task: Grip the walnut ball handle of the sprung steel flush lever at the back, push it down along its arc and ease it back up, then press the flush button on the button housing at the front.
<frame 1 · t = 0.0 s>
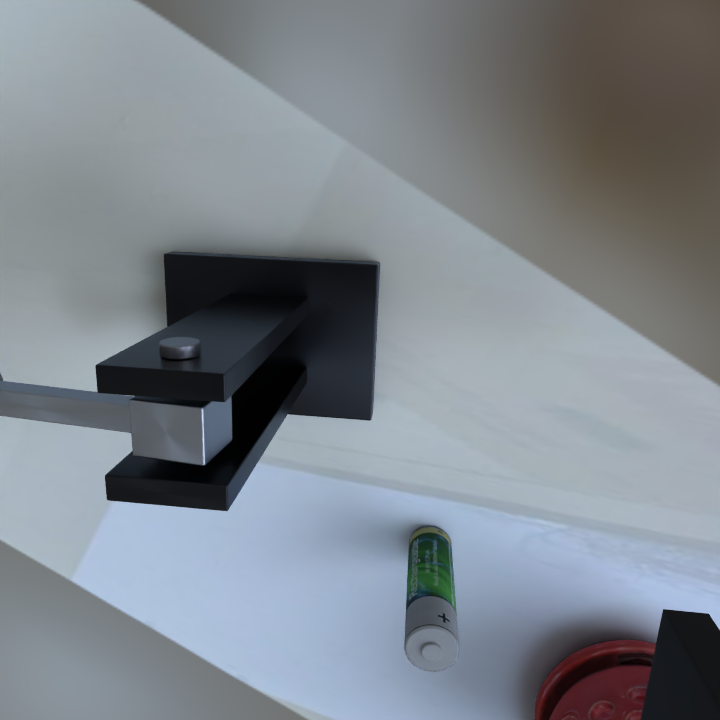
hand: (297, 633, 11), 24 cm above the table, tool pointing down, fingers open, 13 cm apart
lever bracket: (274, 333, 36), on the table
battery: (430, 542, 38), on the table
flower pot: (617, 693, 40), on the table
flush lever: (58, 405, 23), point 13 cm above the table, hinge at -6.4°
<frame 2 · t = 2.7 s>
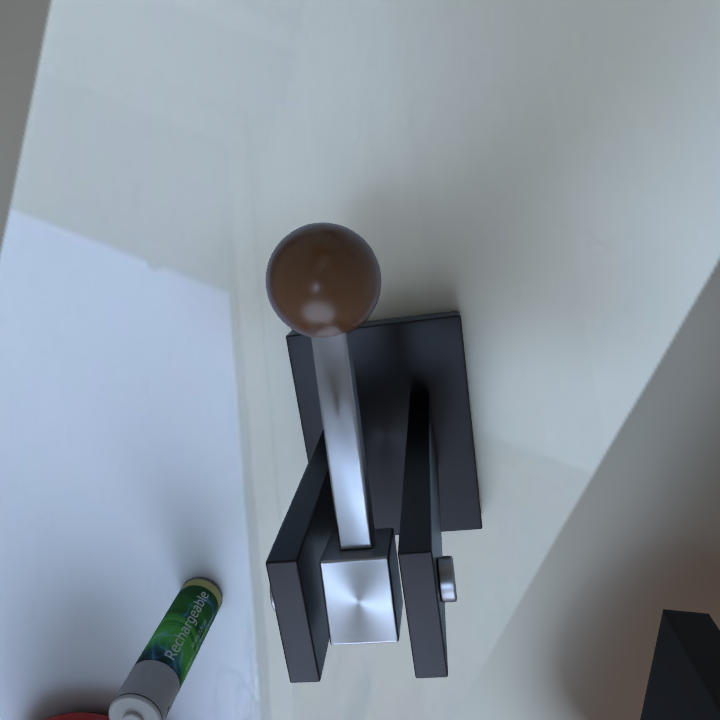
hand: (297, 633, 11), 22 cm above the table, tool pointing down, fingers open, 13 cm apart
lever bracket: (388, 426, 33), on the table
battery: (203, 593, 38), on the table
flush lever: (343, 430, 20), point 13 cm above the table, hinge at -8.7°
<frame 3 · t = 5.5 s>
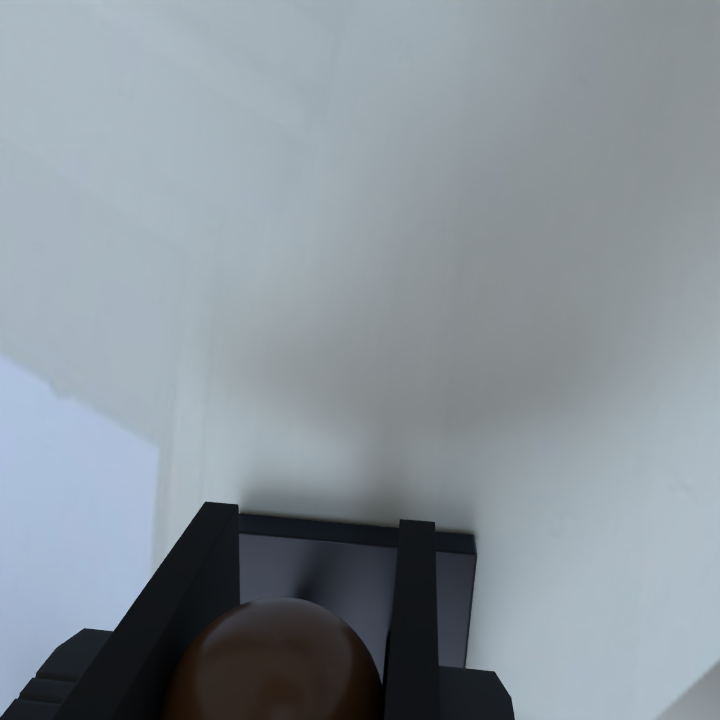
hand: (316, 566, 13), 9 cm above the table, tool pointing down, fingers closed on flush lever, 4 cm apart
lever bracket: (348, 655, 24), on the table
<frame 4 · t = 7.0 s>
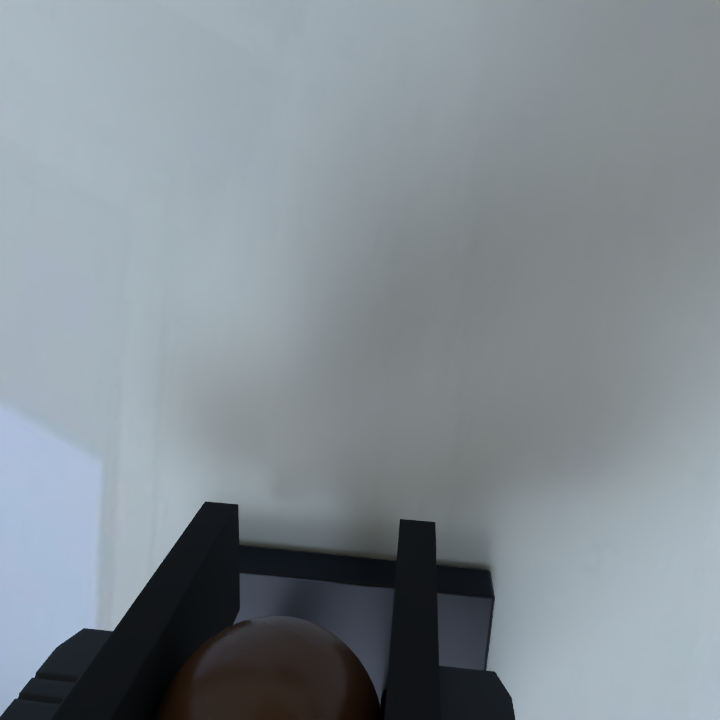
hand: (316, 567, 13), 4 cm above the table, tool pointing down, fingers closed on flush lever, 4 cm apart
lever bracket: (336, 710, 20), on the table
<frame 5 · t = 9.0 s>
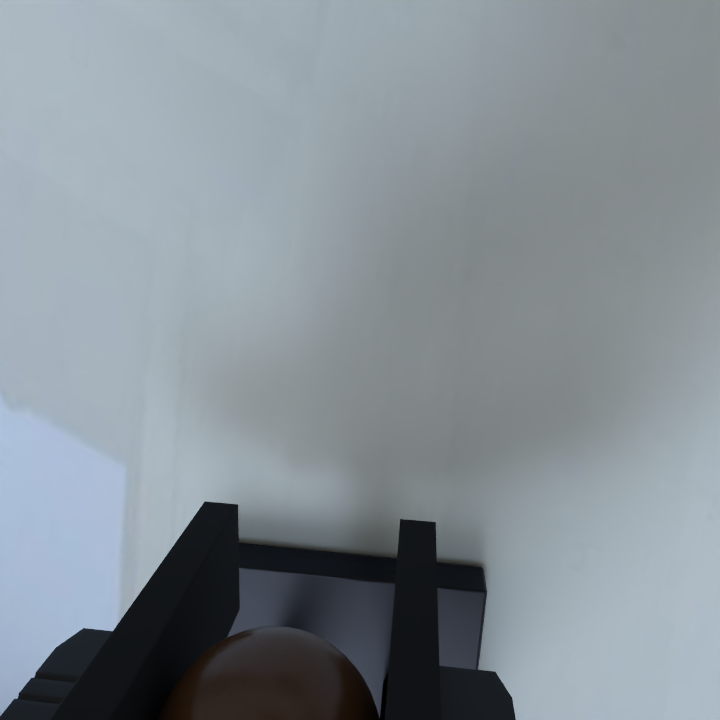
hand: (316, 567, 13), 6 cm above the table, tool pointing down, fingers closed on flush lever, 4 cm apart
lever bracket: (341, 697, 22), on the table
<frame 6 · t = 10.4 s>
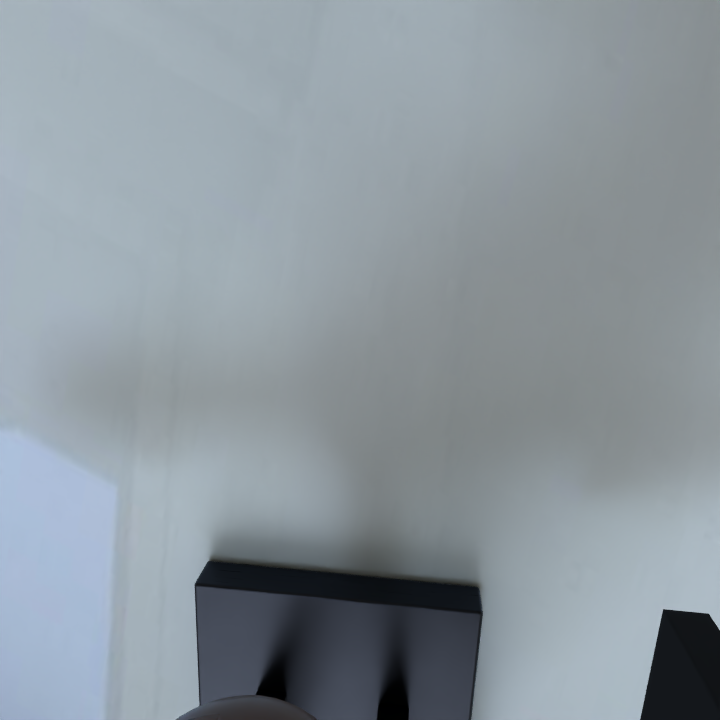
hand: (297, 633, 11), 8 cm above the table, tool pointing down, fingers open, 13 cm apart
lever bracket: (335, 718, 22), on the table
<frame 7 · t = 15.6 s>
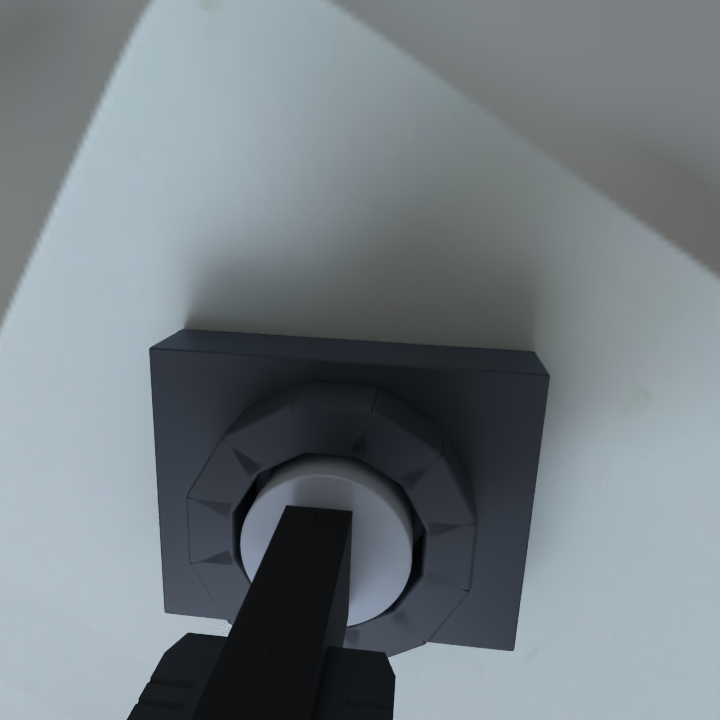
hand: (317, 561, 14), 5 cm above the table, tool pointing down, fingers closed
flush button: (330, 533, 15), point 4 cm above the table, slide at -0.8 cm, touching gripper
button housing: (348, 469, 18), on the table
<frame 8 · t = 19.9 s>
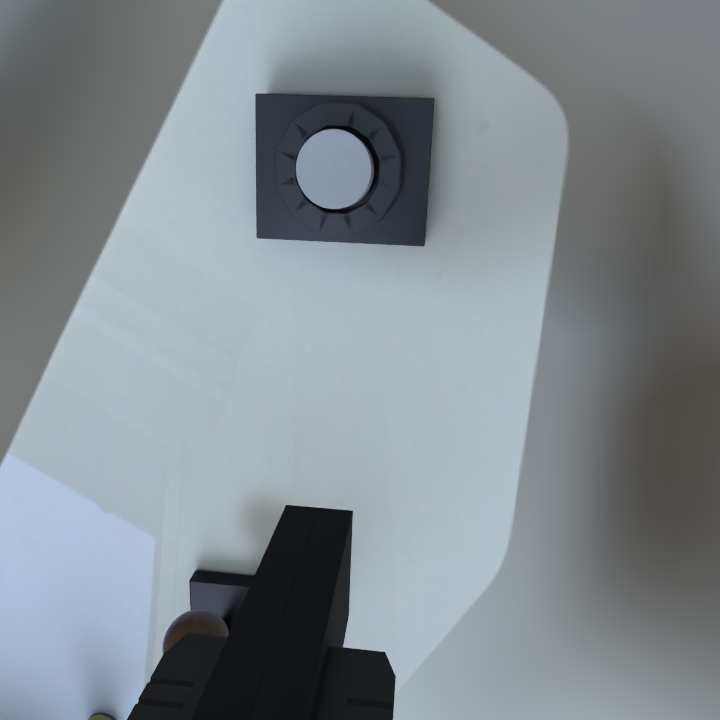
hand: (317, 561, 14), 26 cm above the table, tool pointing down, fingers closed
lever bracket: (254, 642, 47), on the table
flush button: (335, 170, 32), point 4 cm above the table, slide at 0.1 cm
button housing: (346, 172, 37), on the table
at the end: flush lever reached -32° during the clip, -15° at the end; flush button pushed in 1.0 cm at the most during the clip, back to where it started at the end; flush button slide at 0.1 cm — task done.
